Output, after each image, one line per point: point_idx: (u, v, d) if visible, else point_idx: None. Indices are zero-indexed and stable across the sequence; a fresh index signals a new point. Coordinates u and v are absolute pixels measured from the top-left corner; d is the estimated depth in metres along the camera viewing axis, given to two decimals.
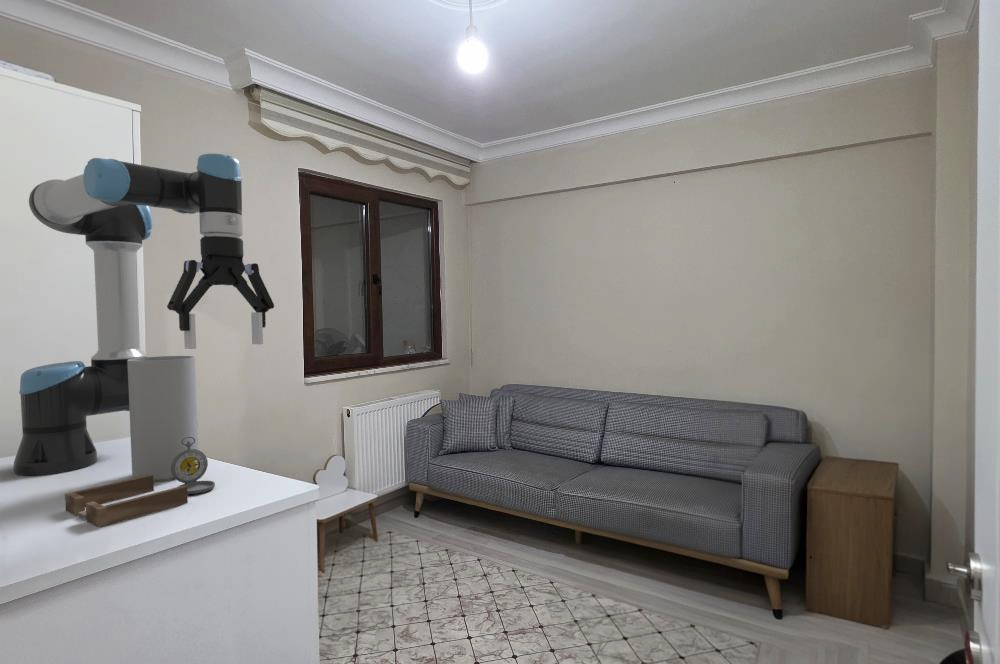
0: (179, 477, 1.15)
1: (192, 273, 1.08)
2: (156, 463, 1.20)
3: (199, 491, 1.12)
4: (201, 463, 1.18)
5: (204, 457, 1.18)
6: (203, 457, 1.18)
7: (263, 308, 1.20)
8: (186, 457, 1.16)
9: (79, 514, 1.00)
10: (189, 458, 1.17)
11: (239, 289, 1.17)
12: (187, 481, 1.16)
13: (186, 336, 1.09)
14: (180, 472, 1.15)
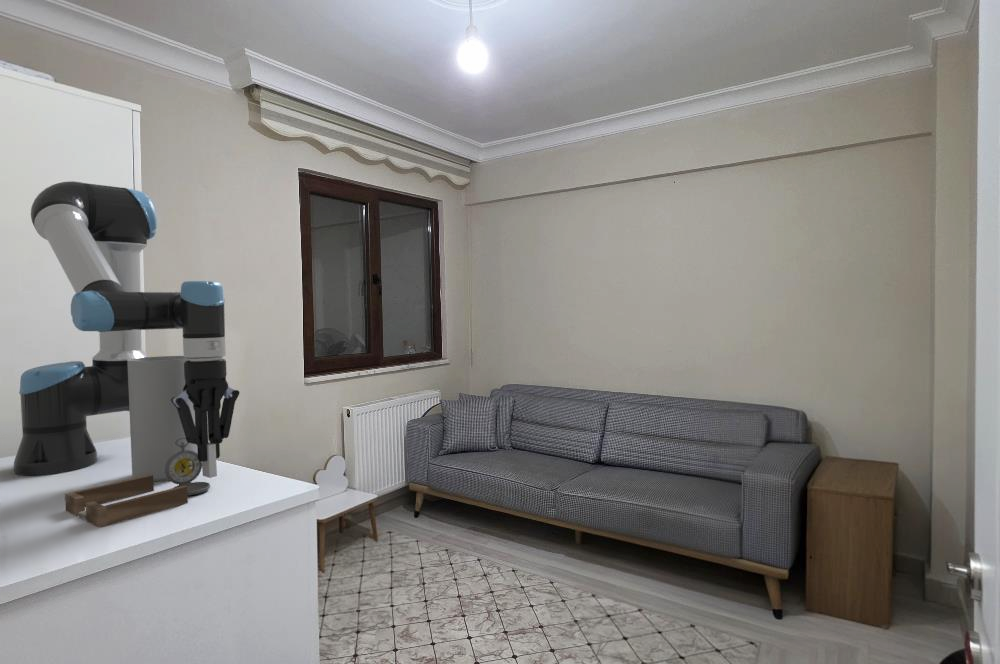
0: (174, 479, 1.14)
1: (186, 408, 1.12)
2: (156, 463, 1.20)
3: (194, 492, 1.11)
4: (195, 464, 1.17)
5: None
6: (197, 458, 1.17)
7: (217, 439, 1.18)
8: (180, 458, 1.15)
9: (79, 514, 1.00)
10: (183, 459, 1.16)
11: (209, 411, 1.18)
12: (181, 482, 1.15)
13: (204, 465, 1.17)
14: (174, 473, 1.14)
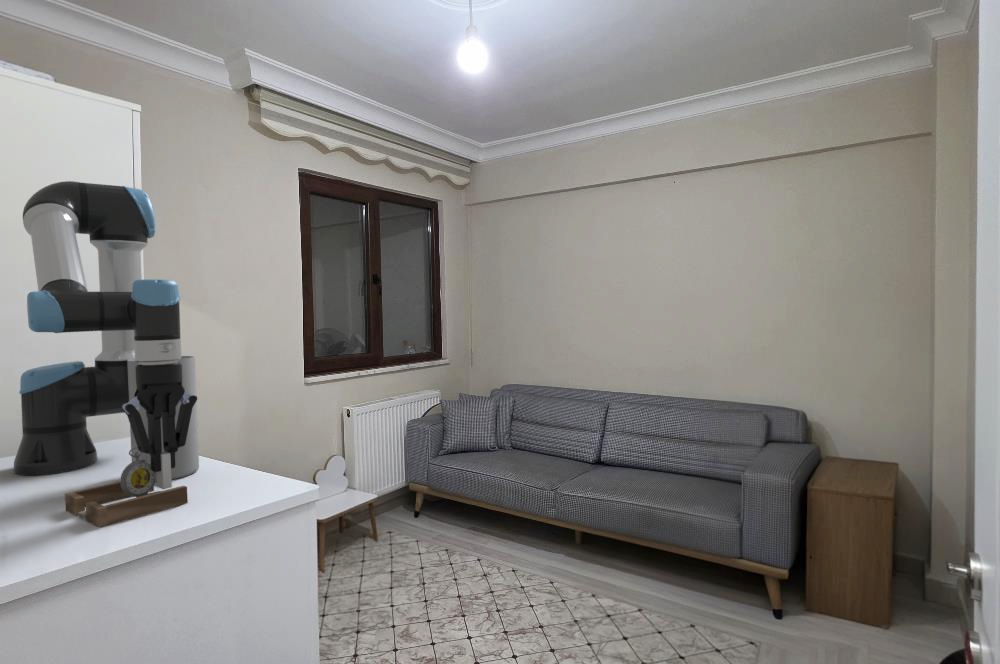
0: (131, 492, 1.06)
1: (136, 415, 1.05)
2: None
3: None
4: (151, 474, 1.10)
5: None
6: None
7: (172, 447, 1.10)
8: (136, 469, 1.07)
9: (79, 514, 1.00)
10: (138, 470, 1.08)
11: (163, 418, 1.11)
12: (139, 494, 1.08)
13: (158, 475, 1.10)
14: (131, 486, 1.07)
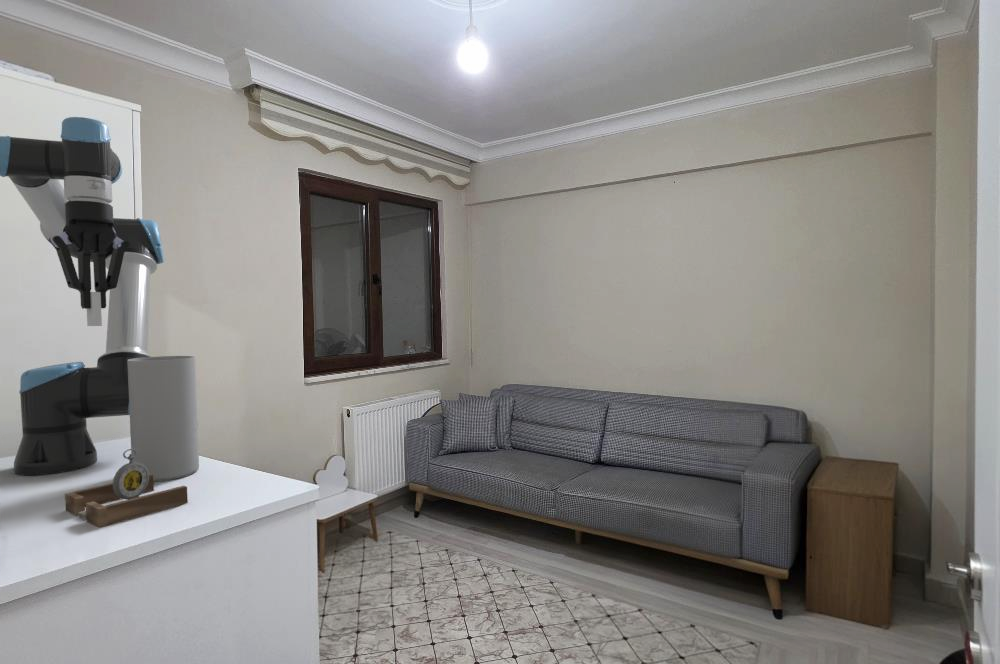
0: (123, 494, 1.05)
1: (64, 248, 1.08)
2: (156, 463, 1.20)
3: None
4: (143, 476, 1.09)
5: (146, 470, 1.09)
6: (145, 470, 1.09)
7: (103, 287, 1.13)
8: (129, 471, 1.06)
9: (79, 514, 1.00)
10: (131, 472, 1.07)
11: (94, 259, 1.13)
12: (130, 497, 1.06)
13: (88, 314, 1.13)
14: (123, 488, 1.05)
